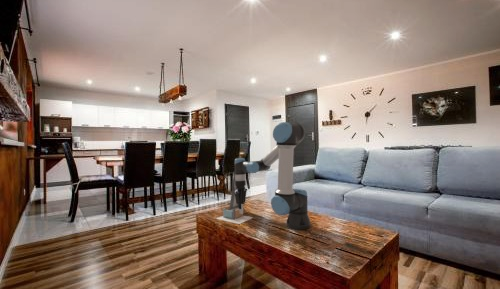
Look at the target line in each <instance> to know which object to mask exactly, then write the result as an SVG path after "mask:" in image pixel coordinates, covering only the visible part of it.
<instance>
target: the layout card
mask: <svg viewBox="0 0 500 289" xmlns="http://www.w3.org/2000/svg"><path fill="white" fill-rule="evenodd" d="M251 219H254V216H248V215H244V214H243V215H242V216H239V217H237V218H235V219H233V218H232V219H231V218H227V217H223V215H222V216H221V215H220V216H219V217H216V220H219V221H224V222H227V223H231V224H235V225H241V224H243V223H246V222H248V221H249V220H251Z"/></svg>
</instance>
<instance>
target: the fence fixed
mask: <svg viewBox="0 0 500 289" xmlns="http://www.w3.org/2000/svg"><path fill="white" fill-rule="evenodd" d="M222 212H223V213H222V216H223V217H227V218H231V219H232V218H233V219H235V209H233V211H229V210H228V209H226V208H225V207H224V208H223V209H222Z"/></svg>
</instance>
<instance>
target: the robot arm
mask: <svg viewBox="0 0 500 289" xmlns="http://www.w3.org/2000/svg"><path fill="white" fill-rule="evenodd" d="M305 135H306V129H305V127H304V126H303V125H302V124H301V123H297V122H289V121H288V122H287V121H284V122H279V123H277V124H276V125H275V126H274V128H273V131H272V138H273V139H274V141H275V142H276V146H274V147H273V148H272V149H271V150H270V151H269V152H268V153H267V154H266V155H265V156H263V158H261V159H260V160H255V161H246V159H245V158H235V159H234V164H233V165H234V172H235V180H236V181H235V186H236V191H234V194H235V198H236V203H237V204H239V213H241V214H243V215H244V211H243V207H244V204H245V203H246V198H247V191H248V189H247V188H246V185H247V184H246V182H247V181H246V173H249V174H256V173H257V172H265V171H269V170H270V169H271V166H272V165H273V164H274V163H275V162H276V161H278V167H277V168H278V170H277V172H278V173H277V188H276V189H275V191H274V196H273V197H272V198H271V200H270V205H271V209H272V211H274V213H275V214H276V215H278V216H286V215H288V216H287V219H286V227H287V228H289V229H292V230H298V231H300V230H301V231H303V230H308V229H310V228H311V226H312V225H311V223H312V222H311V220H310V217H309V214H308V208H309V207H308V192H307V190H306V189H301V188H300V189H299V188H294V187H293V182H294V181H293V180H294V152H295V150H294V149H295V148H296V147H297V145H299V144H300V143H301V142H302V141H303V140H304V139H305Z"/></svg>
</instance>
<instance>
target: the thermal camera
mask: <svg viewBox="0 0 500 289" xmlns="http://www.w3.org/2000/svg"><path fill="white" fill-rule="evenodd" d="M235 181H236V180H235V171H234V173H233V177H232V183H231V194H230V204H229V207H228V209H227V210H229V211H233V209H235V210H238V209H239V204H237V203H236V198H235V194H234V191H236V186H235ZM244 211H245V207H244V206H243V212H244Z"/></svg>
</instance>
